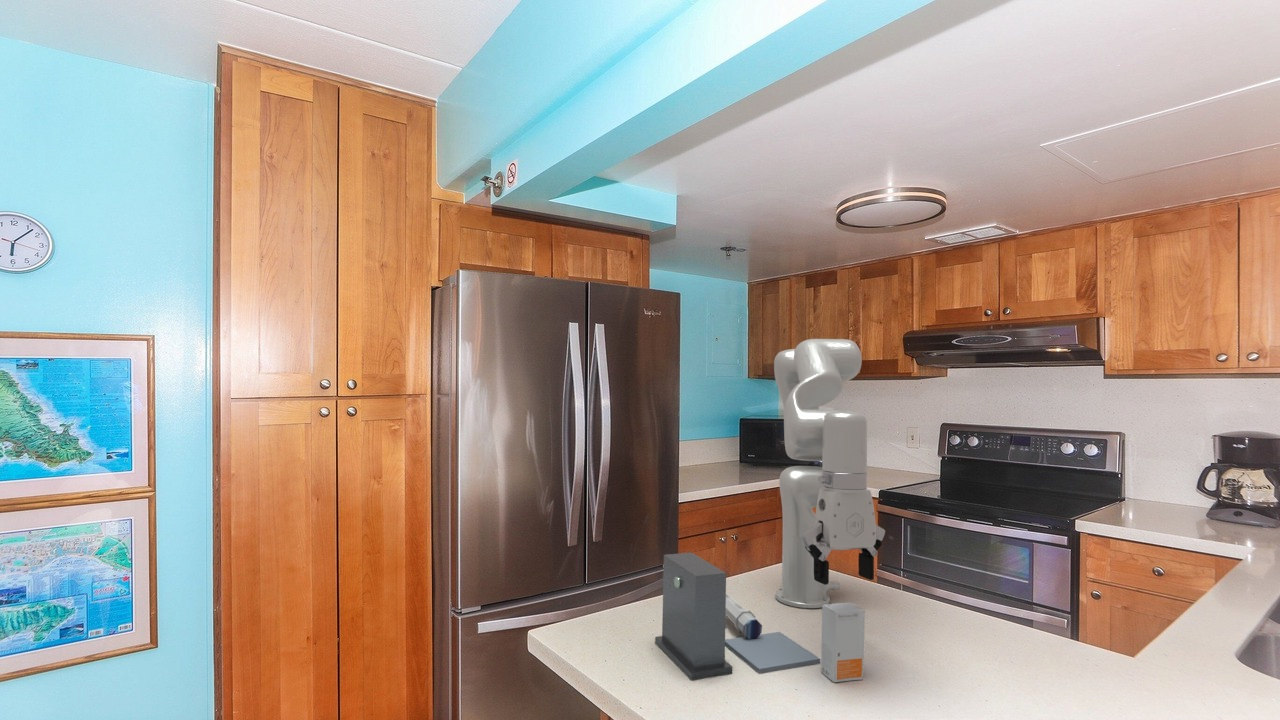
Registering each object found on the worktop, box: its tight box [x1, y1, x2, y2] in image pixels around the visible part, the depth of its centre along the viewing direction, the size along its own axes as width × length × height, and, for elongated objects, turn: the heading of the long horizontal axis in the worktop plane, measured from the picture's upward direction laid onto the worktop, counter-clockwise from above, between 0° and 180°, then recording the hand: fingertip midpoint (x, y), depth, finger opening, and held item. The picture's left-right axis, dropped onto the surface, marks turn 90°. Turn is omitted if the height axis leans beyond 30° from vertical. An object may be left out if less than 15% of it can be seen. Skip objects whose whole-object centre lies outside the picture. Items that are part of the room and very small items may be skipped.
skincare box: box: [820, 602, 866, 683], centre depth 108 cm, size 6×4×12 cm
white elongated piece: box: [726, 593, 763, 640], centre depth 132 cm, size 5×7×25 cm
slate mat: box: [725, 631, 821, 674], centre depth 116 cm, size 13×13×1 cm
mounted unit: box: [654, 552, 733, 681], centre depth 114 cm, size 8×16×17 cm, turn 21°
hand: (844, 580), depth 108 cm, fingers open, 9 cm apart
